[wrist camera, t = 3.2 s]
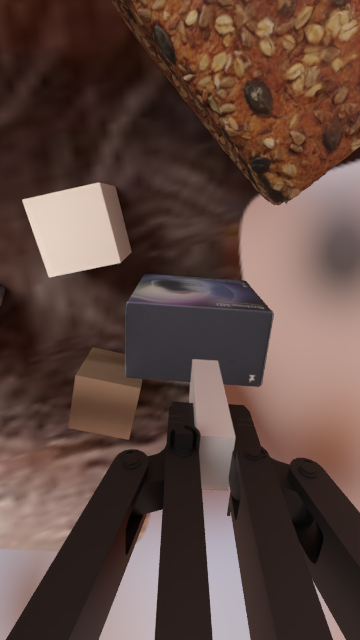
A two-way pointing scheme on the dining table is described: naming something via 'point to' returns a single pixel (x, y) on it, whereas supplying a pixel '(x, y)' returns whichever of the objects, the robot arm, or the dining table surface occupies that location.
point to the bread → (262, 80)
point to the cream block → (78, 228)
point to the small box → (196, 329)
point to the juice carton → (1, 293)
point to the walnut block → (104, 395)
